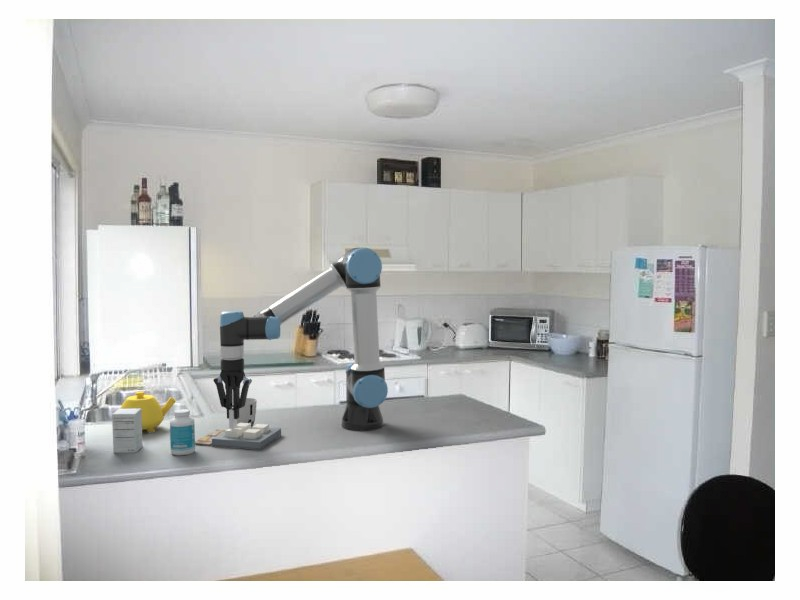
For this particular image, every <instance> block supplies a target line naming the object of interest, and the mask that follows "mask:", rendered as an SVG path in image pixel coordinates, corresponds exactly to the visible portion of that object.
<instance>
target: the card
mask: <svg viewBox="0 0 800 600" xmlns="http://www.w3.org/2000/svg"><path fill="white" fill-rule="evenodd" d="M226 430H227V429H216V430H214V431H212V432H210V433H208V434H206V435H204V436H202V437H200V438H199V439H196V440H195V446H205V447H211V446H212V438H214V437H216V436H218V435H219V434H221V433H223V432H225V431H226Z"/></svg>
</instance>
